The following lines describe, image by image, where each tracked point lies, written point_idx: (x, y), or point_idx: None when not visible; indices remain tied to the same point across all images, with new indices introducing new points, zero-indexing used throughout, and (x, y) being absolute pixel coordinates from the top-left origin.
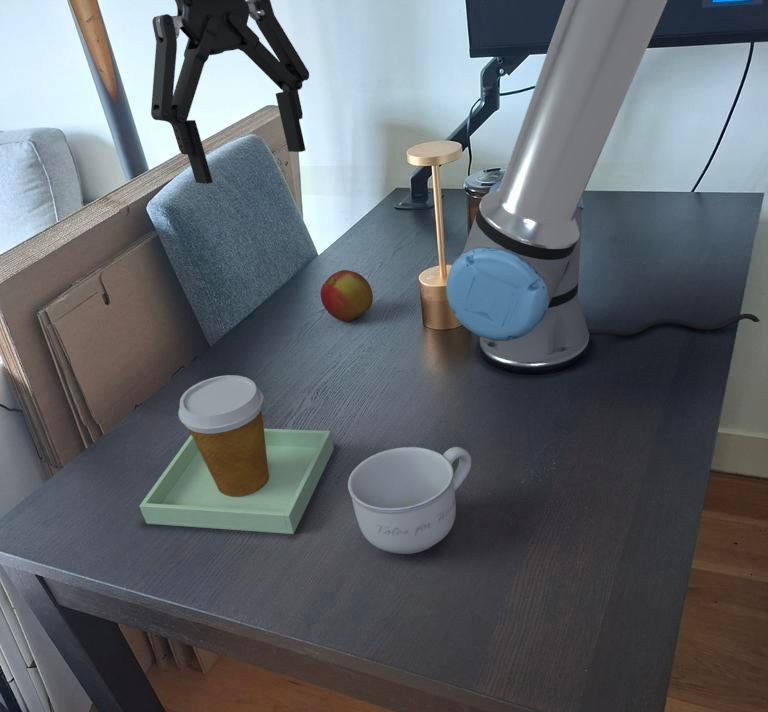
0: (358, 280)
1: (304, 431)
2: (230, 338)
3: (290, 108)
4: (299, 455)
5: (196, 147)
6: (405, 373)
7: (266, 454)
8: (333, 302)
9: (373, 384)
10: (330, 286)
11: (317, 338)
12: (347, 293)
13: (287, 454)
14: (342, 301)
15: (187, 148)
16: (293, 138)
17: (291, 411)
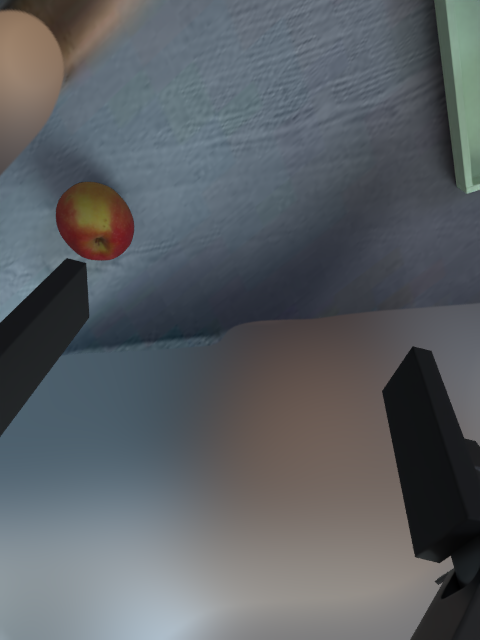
0: (75, 205)
1: (451, 7)
2: (226, 323)
3: (7, 353)
4: (470, 4)
5: (463, 437)
6: (190, 7)
7: (477, 64)
8: (127, 221)
9: (241, 41)
10: (112, 237)
11: (174, 221)
12: (106, 205)
13: (471, 28)
14: (119, 208)
15: (477, 456)
16: (68, 306)
17: (351, 120)
